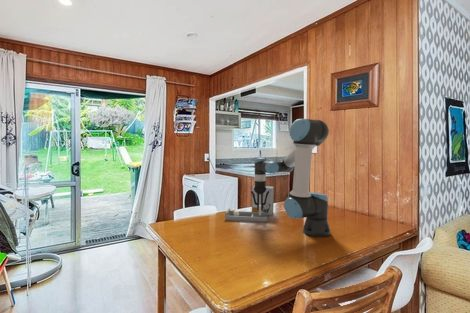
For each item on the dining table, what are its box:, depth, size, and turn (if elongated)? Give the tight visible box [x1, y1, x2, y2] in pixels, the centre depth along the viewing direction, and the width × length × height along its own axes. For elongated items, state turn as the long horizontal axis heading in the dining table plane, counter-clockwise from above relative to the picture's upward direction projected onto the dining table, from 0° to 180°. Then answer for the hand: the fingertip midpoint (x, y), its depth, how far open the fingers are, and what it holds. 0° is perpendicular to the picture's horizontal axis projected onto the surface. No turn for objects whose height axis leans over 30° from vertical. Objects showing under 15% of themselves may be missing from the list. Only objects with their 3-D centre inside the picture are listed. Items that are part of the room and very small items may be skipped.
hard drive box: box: [251, 185, 275, 216], centre depth 192 cm, size 16×8×20 cm, turn 73°
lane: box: [224, 207, 269, 223], centre depth 177 cm, size 28×14×5 cm, turn 81°
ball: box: [233, 210, 239, 216], centre depth 179 cm, size 4×4×4 cm
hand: (260, 214), depth 175 cm, fingers closed
